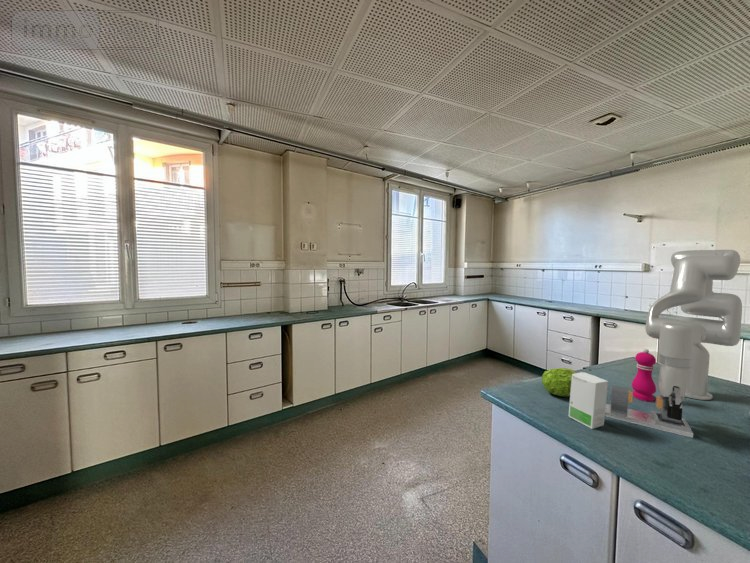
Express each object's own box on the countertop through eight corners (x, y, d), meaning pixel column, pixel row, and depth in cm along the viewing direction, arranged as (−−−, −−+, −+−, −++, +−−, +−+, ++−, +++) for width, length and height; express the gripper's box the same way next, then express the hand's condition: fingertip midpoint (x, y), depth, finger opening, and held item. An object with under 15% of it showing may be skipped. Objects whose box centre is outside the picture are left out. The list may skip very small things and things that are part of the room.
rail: (601, 406, 109) (603, 382, 109) (686, 426, 96) (688, 398, 96) (602, 415, 103) (603, 389, 102) (692, 437, 90) (695, 408, 89)
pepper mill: (660, 403, 112) (663, 352, 111) (638, 401, 114) (641, 351, 112) (647, 394, 119) (650, 346, 118) (626, 393, 121) (629, 345, 119)
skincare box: (567, 417, 102) (569, 373, 101) (580, 413, 104) (582, 371, 103) (593, 430, 94) (595, 383, 93) (606, 425, 96) (608, 379, 95)
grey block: (677, 421, 96) (679, 398, 96) (680, 427, 93) (682, 403, 92) (654, 416, 99) (655, 393, 99) (656, 422, 96) (658, 398, 95)
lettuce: (602, 379, 122) (575, 355, 131) (577, 390, 108) (549, 362, 117) (581, 395, 128) (557, 372, 137) (555, 408, 115) (530, 380, 123)
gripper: (653, 352, 103) (650, 399, 105) (663, 366, 90) (659, 420, 91) (683, 356, 99) (680, 405, 100) (699, 372, 85) (694, 428, 86)
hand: (670, 412), depth 95 cm, fingers open, 9 cm apart
